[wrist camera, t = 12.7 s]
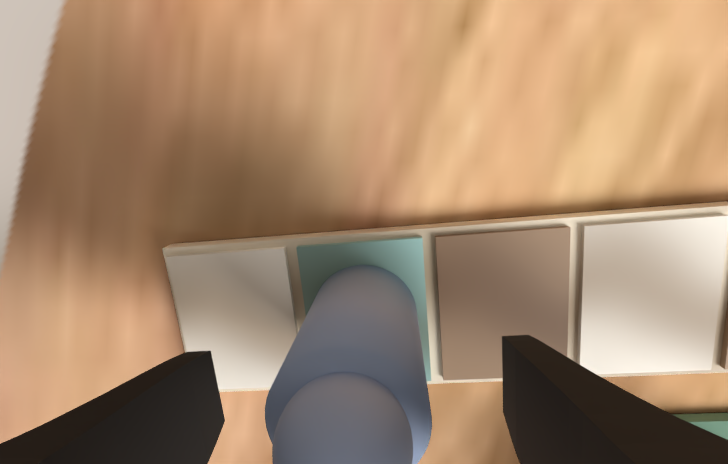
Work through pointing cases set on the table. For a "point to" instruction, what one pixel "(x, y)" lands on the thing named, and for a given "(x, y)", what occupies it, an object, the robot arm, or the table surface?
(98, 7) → the table surface
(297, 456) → the pawn
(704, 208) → the board
